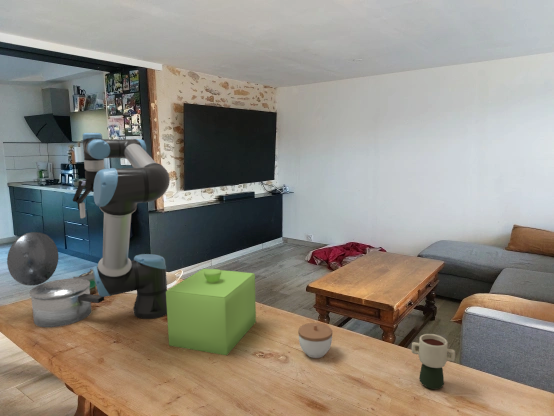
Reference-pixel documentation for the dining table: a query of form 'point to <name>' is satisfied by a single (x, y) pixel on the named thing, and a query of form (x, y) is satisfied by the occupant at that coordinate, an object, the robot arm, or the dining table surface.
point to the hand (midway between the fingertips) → (98, 218)
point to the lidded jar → (315, 339)
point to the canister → (211, 310)
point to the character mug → (432, 359)
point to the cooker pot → (62, 302)
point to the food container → (90, 278)
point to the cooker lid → (32, 258)
